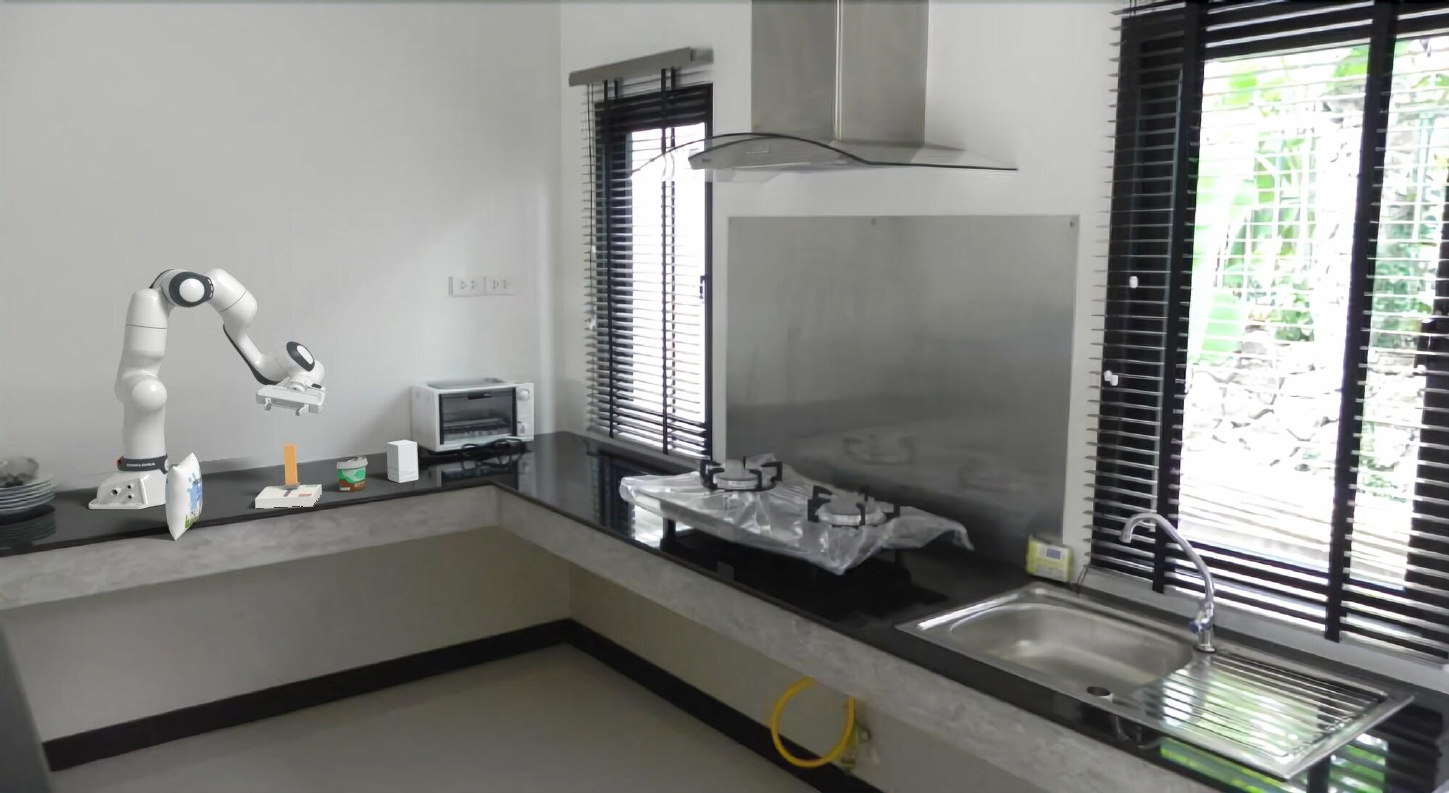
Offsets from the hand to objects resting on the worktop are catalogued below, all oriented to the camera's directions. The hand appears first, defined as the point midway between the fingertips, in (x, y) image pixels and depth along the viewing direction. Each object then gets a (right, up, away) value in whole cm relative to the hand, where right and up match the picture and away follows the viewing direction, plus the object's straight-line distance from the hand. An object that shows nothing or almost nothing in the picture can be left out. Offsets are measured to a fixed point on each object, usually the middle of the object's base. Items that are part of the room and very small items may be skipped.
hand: (282, 411), depth 327 cm
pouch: (-10, -32, -39) cm, 52 cm away
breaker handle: (+4, -23, -2) cm, 24 cm away
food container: (+20, -25, +9) cm, 33 cm away
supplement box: (+30, -23, +24) cm, 45 cm away
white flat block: (+5, -27, -6) cm, 28 cm away
